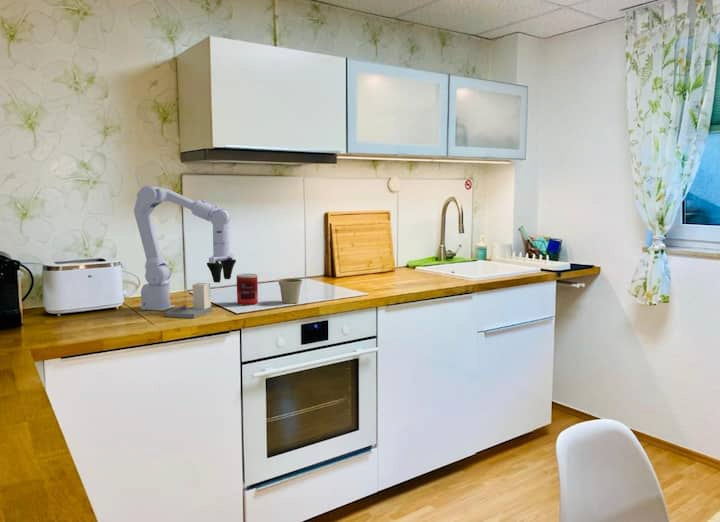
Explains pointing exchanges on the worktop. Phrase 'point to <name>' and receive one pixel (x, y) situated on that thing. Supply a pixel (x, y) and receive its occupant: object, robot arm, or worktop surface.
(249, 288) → the canned food
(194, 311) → the tray
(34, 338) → the worktop surface
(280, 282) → the flower pot
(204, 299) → the cream block
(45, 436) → the worktop surface
